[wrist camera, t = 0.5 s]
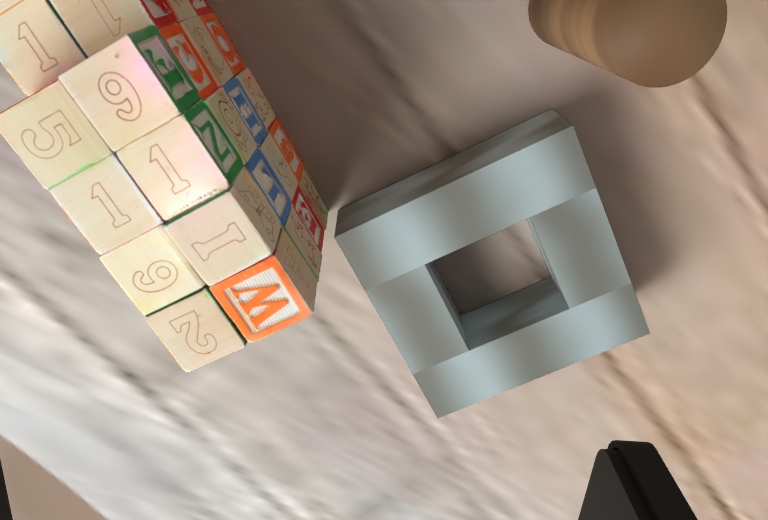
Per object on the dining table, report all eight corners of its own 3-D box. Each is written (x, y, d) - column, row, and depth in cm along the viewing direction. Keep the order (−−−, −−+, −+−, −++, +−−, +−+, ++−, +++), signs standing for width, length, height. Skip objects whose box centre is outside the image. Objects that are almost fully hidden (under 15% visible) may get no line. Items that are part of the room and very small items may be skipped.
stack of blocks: (-5, -113, 30) (-230, -159, 19) (104, -185, 29) (-65, -279, 18) (239, 257, 38) (184, 379, 27) (332, 212, 37) (314, 320, 26)
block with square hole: (552, 108, 35) (572, 125, 31) (624, 299, 40) (650, 333, 36) (338, 210, 37) (334, 237, 33) (432, 378, 42) (437, 418, 38)
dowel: (593, -54, 31) (710, -63, 20) (618, 24, 33) (739, 54, 22) (516, -14, 32) (590, -3, 21) (544, 60, 34) (627, 107, 23)
